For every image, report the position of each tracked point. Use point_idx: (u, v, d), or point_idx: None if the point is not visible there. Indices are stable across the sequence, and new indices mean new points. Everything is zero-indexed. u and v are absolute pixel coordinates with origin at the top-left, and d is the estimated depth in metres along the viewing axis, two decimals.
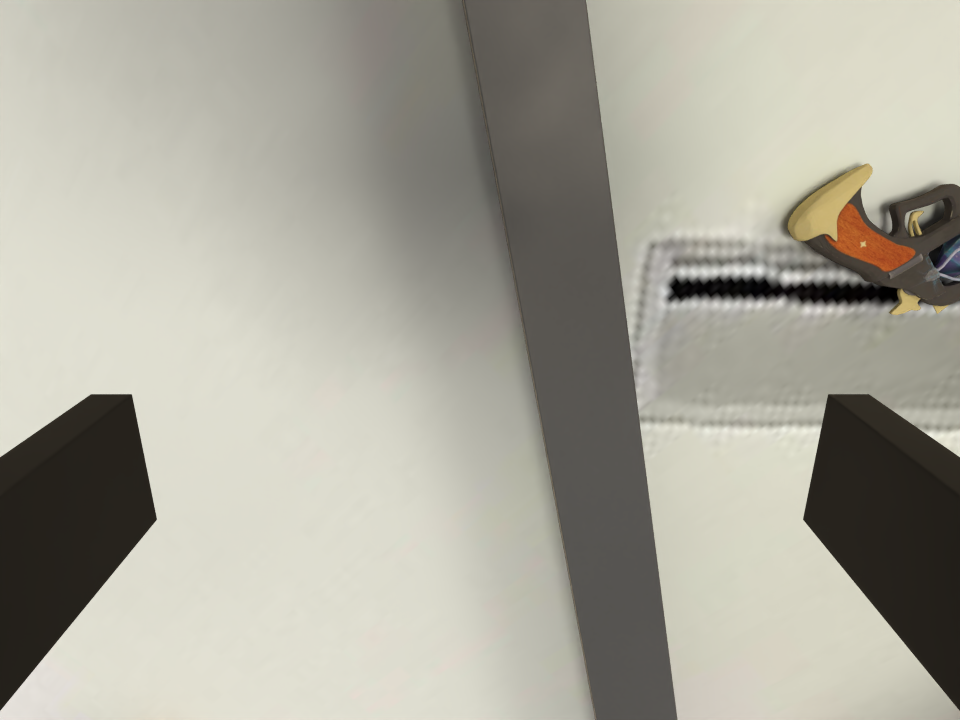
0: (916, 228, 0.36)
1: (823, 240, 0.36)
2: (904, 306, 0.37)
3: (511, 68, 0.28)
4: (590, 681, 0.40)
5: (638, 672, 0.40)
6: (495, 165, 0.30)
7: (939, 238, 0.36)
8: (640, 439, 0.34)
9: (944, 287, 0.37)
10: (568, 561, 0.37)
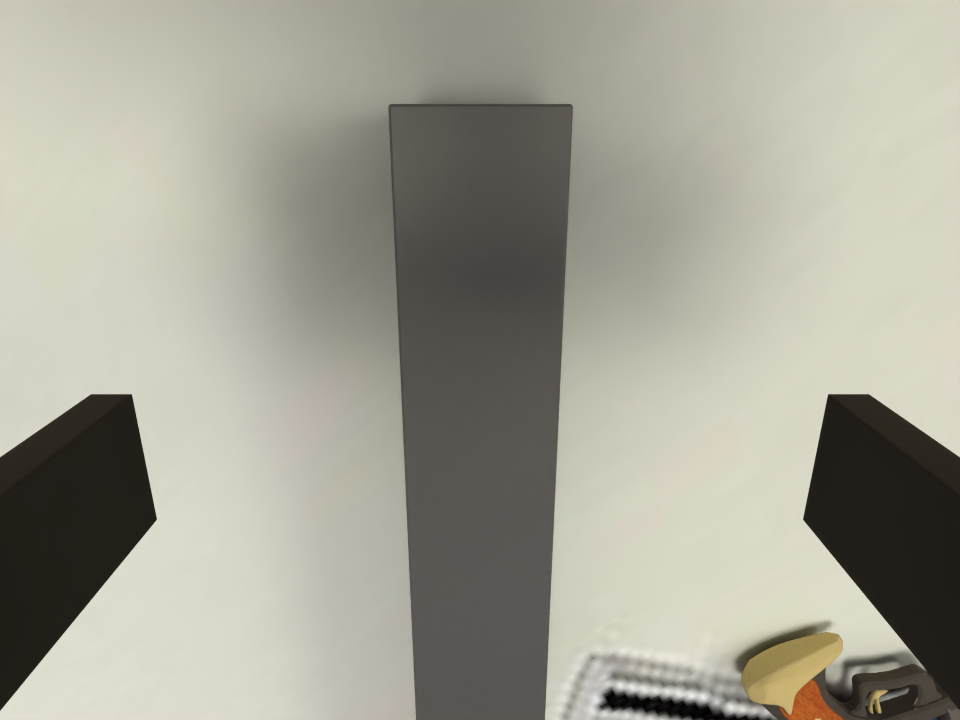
0: (876, 705, 0.33)
1: (776, 708, 0.32)
2: None
3: (451, 585, 0.23)
4: None
5: None
6: (415, 668, 0.25)
7: None
8: None
9: None
10: None
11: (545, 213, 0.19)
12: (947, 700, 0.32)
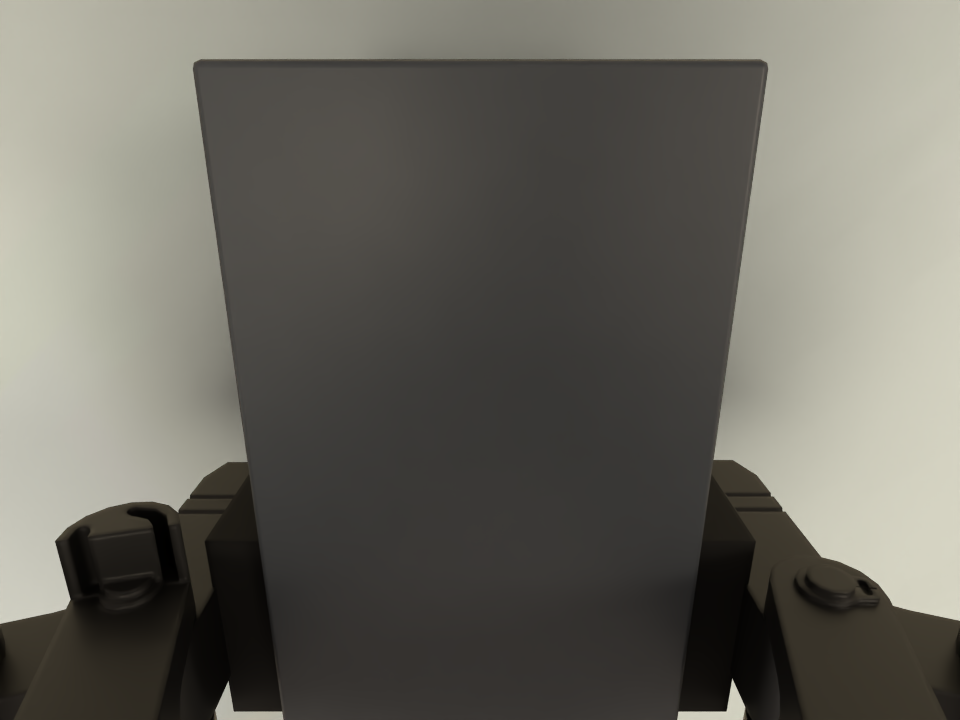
0: None
1: None
2: None
3: None
4: None
5: None
6: None
7: None
8: None
9: None
10: None
11: (664, 375, 0.07)
12: None
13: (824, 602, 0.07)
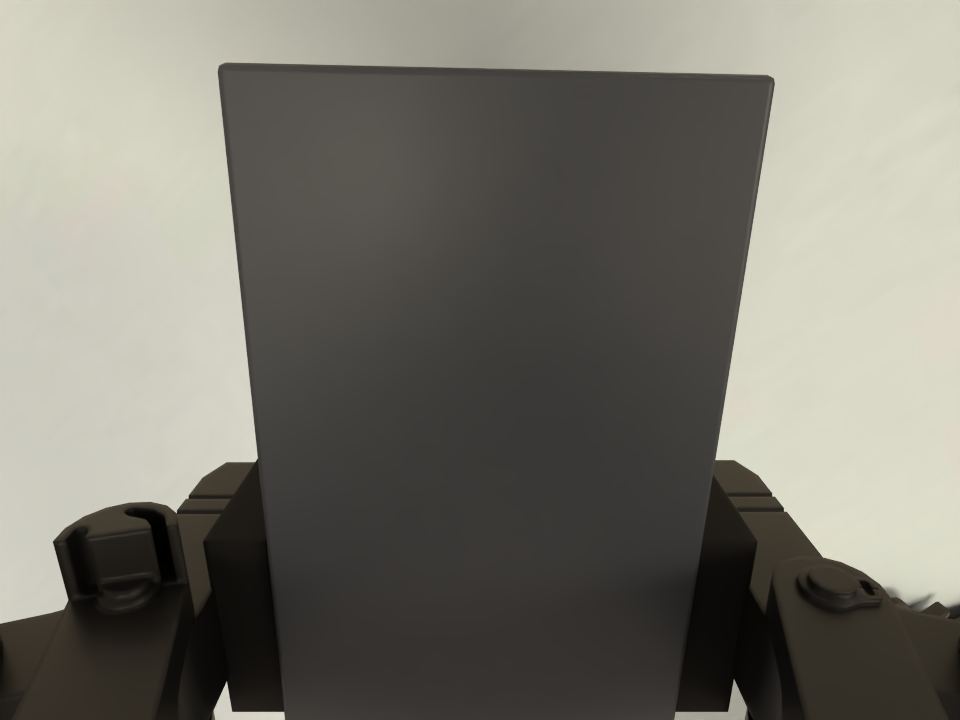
0: None
1: None
2: None
3: None
4: None
5: None
6: None
7: None
8: None
9: None
10: None
11: (668, 378, 0.07)
12: None
13: (827, 603, 0.07)
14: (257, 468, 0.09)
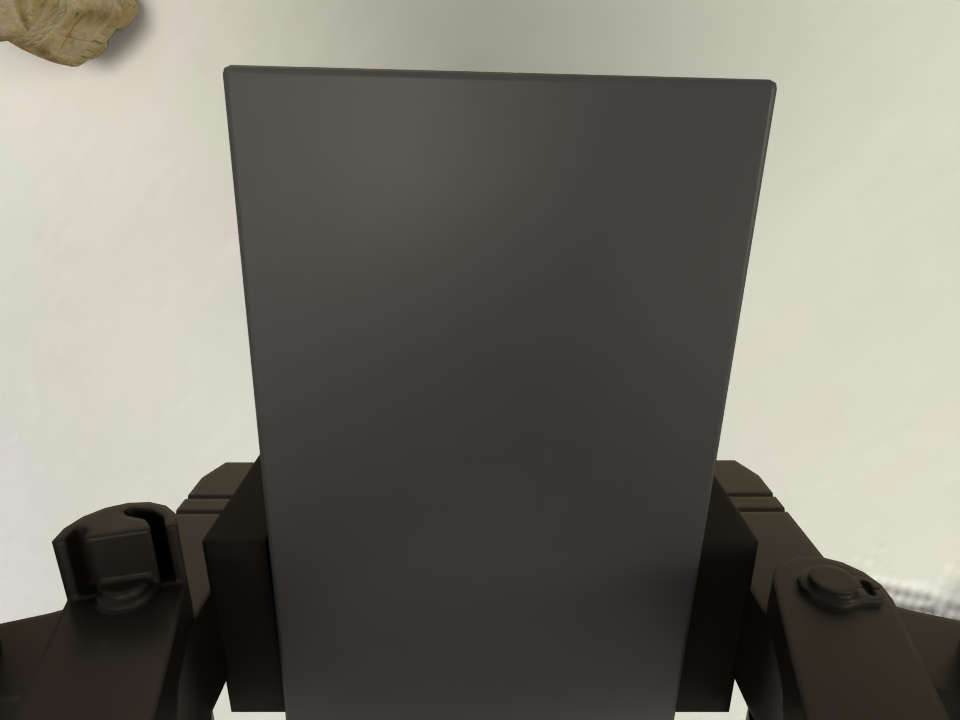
0: None
1: None
2: None
3: None
4: None
5: None
6: None
7: None
8: None
9: None
10: None
11: (670, 380, 0.07)
12: None
13: (828, 603, 0.07)
14: (256, 468, 0.09)
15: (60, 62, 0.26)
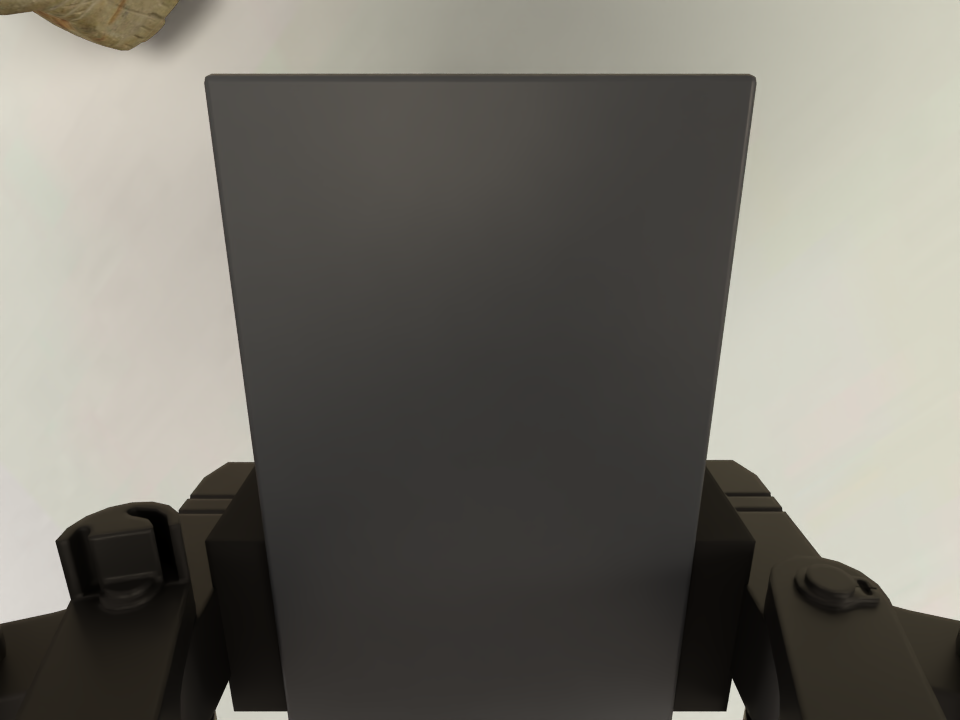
0: None
1: None
2: None
3: None
4: None
5: None
6: None
7: None
8: None
9: None
10: None
11: (658, 376, 0.07)
12: None
13: (825, 602, 0.07)
14: None
15: (108, 44, 0.19)
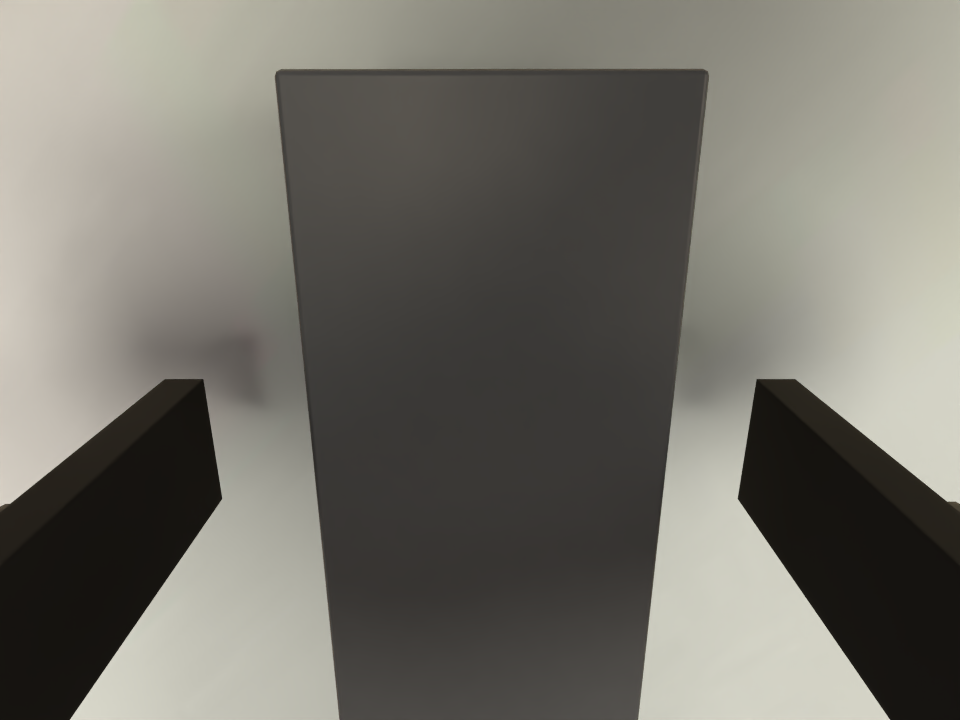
0: None
1: None
2: None
3: None
4: None
5: None
6: None
7: None
8: None
9: None
10: None
11: (634, 314, 0.08)
12: None
13: None
14: None
15: None
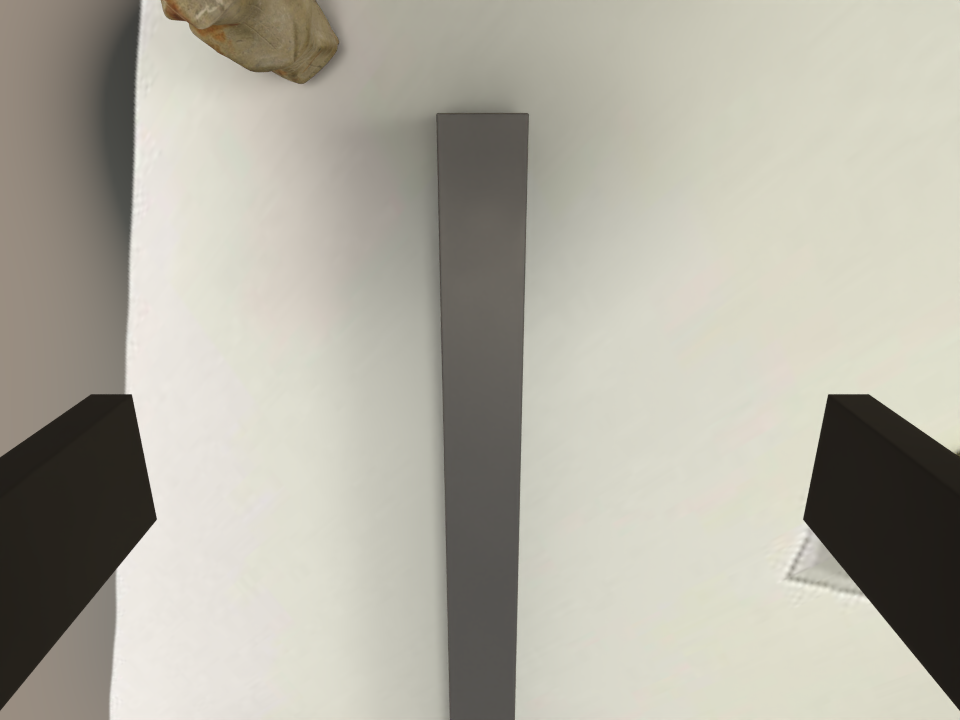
0: None
1: None
2: None
3: (466, 384, 0.41)
4: None
5: None
6: (444, 439, 0.42)
7: None
8: (515, 625, 0.48)
9: None
10: (450, 697, 0.50)
11: (515, 169, 0.37)
12: None
13: None
14: None
15: (297, 81, 0.38)
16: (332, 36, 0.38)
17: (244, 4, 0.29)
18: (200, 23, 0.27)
